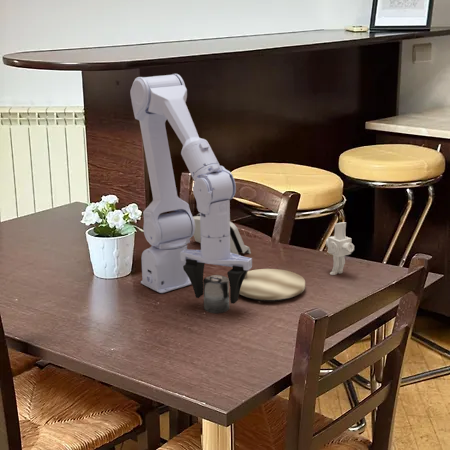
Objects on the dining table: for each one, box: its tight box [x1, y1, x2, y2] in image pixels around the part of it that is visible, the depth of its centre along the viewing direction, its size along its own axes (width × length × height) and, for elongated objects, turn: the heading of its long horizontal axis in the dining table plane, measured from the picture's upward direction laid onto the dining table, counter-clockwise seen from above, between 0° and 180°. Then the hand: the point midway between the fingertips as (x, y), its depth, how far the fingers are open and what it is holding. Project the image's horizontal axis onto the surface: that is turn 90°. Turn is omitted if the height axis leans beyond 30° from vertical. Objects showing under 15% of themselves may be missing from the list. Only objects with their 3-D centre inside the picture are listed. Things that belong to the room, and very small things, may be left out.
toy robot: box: [325, 221, 355, 276], centre depth 169 cm, size 4×8×12 cm, turn 34°
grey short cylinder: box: [203, 274, 230, 314], centre depth 153 cm, size 5×5×7 cm
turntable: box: [239, 268, 306, 300], centre depth 161 cm, size 15×15×5 cm
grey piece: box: [193, 212, 252, 255], centre depth 188 cm, size 17×5×10 cm, turn 37°
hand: (216, 298), depth 153 cm, fingers open, 7 cm apart
